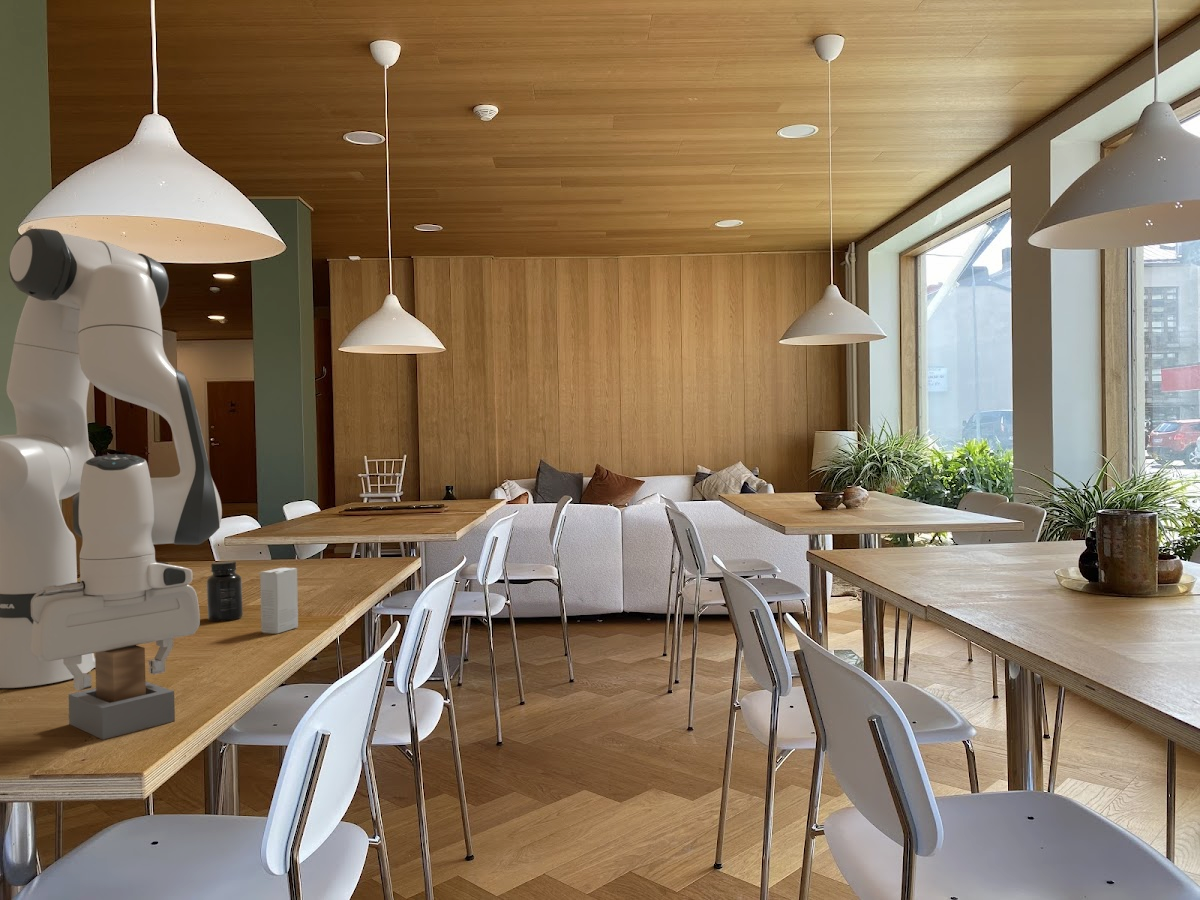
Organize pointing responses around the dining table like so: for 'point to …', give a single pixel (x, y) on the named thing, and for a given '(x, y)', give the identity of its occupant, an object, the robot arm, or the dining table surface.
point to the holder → (121, 712)
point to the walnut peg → (120, 673)
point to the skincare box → (279, 600)
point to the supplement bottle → (224, 592)
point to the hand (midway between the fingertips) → (121, 680)
